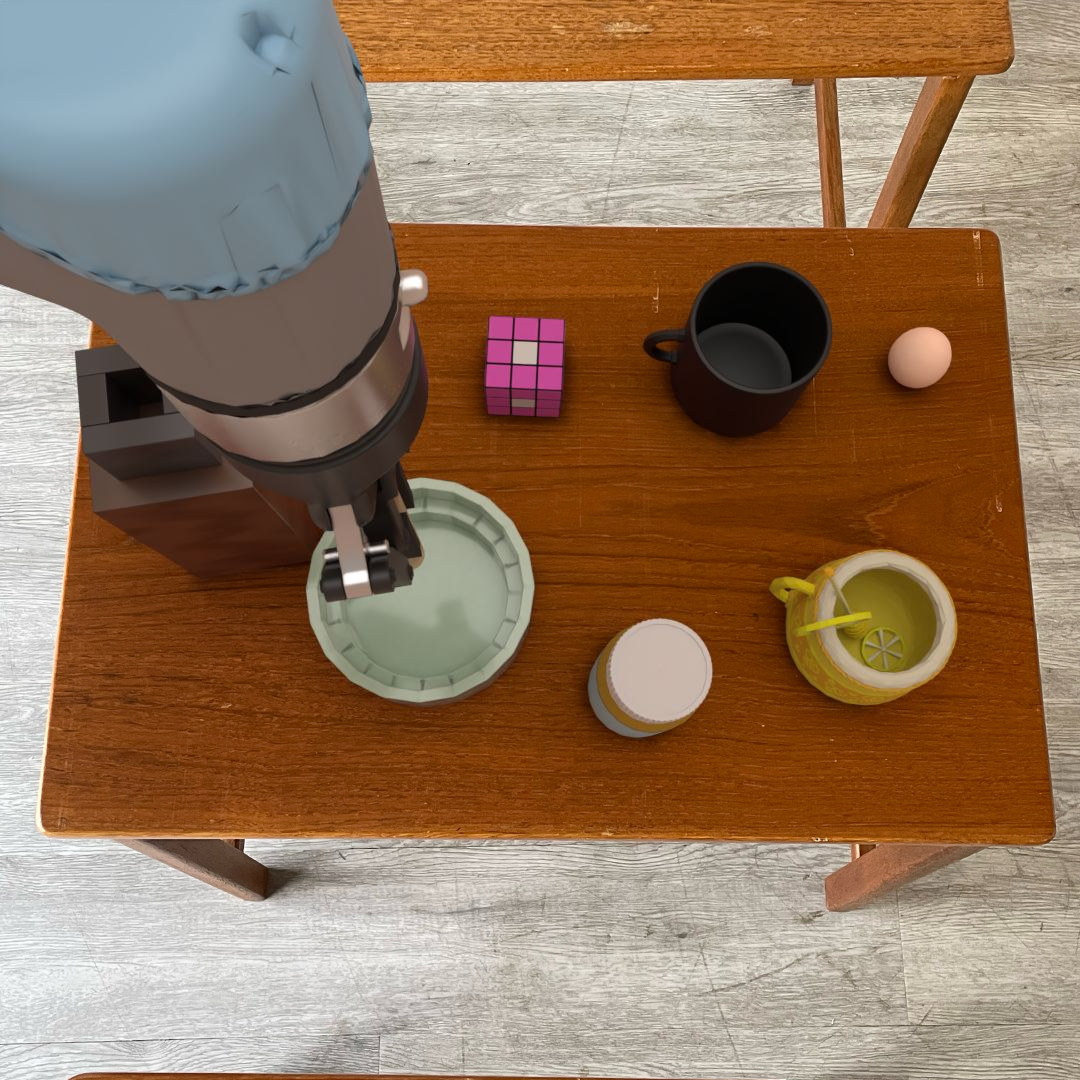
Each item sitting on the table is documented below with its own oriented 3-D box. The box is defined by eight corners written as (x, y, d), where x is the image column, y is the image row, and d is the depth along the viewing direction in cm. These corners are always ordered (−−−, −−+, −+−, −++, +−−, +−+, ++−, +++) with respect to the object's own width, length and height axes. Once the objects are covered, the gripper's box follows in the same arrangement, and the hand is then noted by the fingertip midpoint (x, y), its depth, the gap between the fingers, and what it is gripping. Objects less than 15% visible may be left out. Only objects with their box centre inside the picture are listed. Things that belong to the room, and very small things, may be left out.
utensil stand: (200, 578, 77) (52, 488, 53) (188, 464, 79) (41, 327, 55) (320, 559, 78) (229, 461, 54) (305, 446, 80) (211, 302, 56)
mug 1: (640, 310, 83) (655, 250, 73) (799, 324, 83) (835, 266, 73) (631, 429, 81) (646, 384, 71) (795, 444, 81) (831, 400, 71)
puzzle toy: (562, 349, 82) (565, 318, 76) (559, 417, 81) (562, 391, 75) (490, 345, 82) (488, 314, 76) (486, 414, 81) (484, 387, 75)
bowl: (337, 723, 75) (321, 719, 69) (311, 517, 79) (294, 497, 73) (548, 687, 76) (551, 680, 70) (514, 485, 80) (513, 462, 74)
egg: (942, 390, 82) (973, 362, 76) (889, 403, 82) (916, 376, 76) (924, 339, 83) (953, 308, 77) (871, 352, 82) (896, 321, 77)
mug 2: (945, 599, 78) (1020, 568, 66) (891, 732, 76) (959, 724, 64) (789, 526, 79) (836, 483, 67) (732, 655, 77) (769, 633, 65)
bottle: (613, 625, 77) (634, 591, 63) (697, 669, 77) (739, 644, 62) (570, 709, 76) (582, 694, 61) (656, 755, 75) (688, 750, 61)
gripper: (454, 568, 30) (485, 658, 53) (384, 116, 33) (441, 385, 56) (194, 611, 30) (338, 683, 53) (149, 149, 33) (303, 406, 56)
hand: (391, 529), depth 54 cm, fingers closed on stirring stick, 2 cm apart
